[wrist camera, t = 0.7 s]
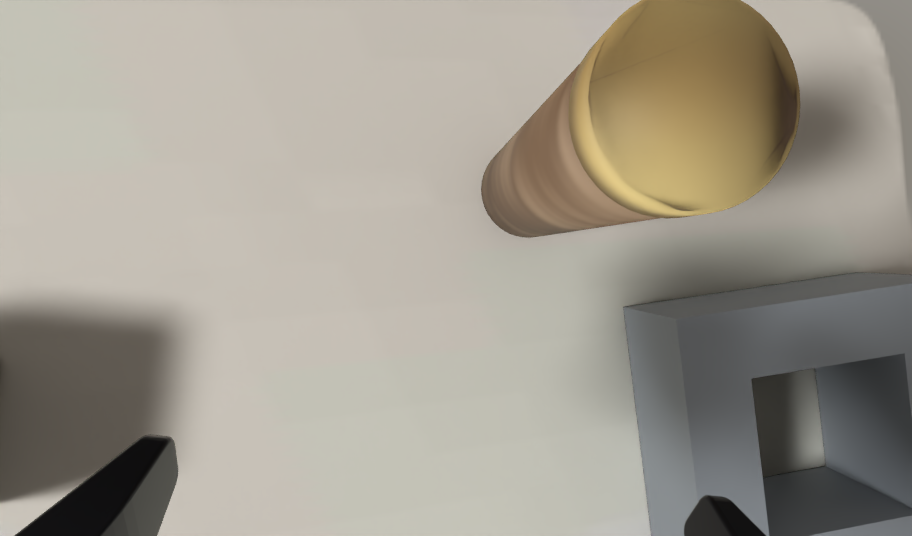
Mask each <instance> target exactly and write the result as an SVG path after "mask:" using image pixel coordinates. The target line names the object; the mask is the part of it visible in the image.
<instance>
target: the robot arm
mask: <svg viewBox="0 0 912 536" xmlns="http://www.w3.org/2000/svg"><path fill="white" fill-rule="evenodd" d="M177 477H178V464H177V457H176V450H175V443H174V440H173V439H172V438H171V437H168V436H158V435H146V436H143V437H141V438H140V439H138V440H137V441H136V442H134V443H133V444H132V445H131V446H129V447H128V448H127V449H125V450H124V451H123V452H122V453H120V454H119V455H118V456H116V457H115V458H114V459H113V460H111V461H110V462H109V463H107V464H106V465H105V466H104V467H102V468H101V469H100V470H98V471H97V472H96V473H95V474H93V475H92V476H91V477H89V478H88V479H87V480H86V481H84V482H83V483H82V484H80V485H79V486H78V487H76V488H75V489H74V490H73V491H71V492H70V493H69V494H67V495H66V496H65V497H64V498H62V499H61V500H60V501H58V502H57V503H56V504H55V505H53V506H52V507H51V508H49V509H48V510H47V511H46V512H44V513H43V514H42V515H40V516H39V517H38V518H37V519H35V520H34V521H33V522H31V523H30V524H29V525H28V526H26V527H25V528H24V529H22V530H21V531H20V532H18V533H17V534H16V535H15V536H157V534H158V532H159V529H160V526H161V523H162V521H163V518H164V515H165V512H166V510H167V507H168V504H169V502H170V499H171V496H172V493H173V491H174V488H175V485H176V482H177ZM684 536H766V535H765V534H764V533H763V532H762V531H761V530H760V529H759V528H758V527H757V526H756V525H755V524H754V523H753V522H752V521H751V520H750V519H749V518H748V517H747V516H746V515H745V514H744V513H743V512H742V511H741V510H740V509H739V508H738V507H737V506H736V505H735V504H734V503H733V502H732V501H731V500H730V499H728V498H726V497H721V496H712V495H705V496H703V497H702V498H701V499H700V500H699V501H698V503H697V504H696V506H695V507H694V509H693V510H692V512H691V513H690V515H689V516H688V518H687V519H686V521H685V525H684Z"/></svg>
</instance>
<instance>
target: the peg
mask: <svg viewBox="0 0 912 536" xmlns="http://www.w3.org/2000/svg"><path fill="white" fill-rule="evenodd" d="M799 112H800V93H799V85H798V79H797V74H796V71H795V68H794V64H793V61H792V59H791V57H790V54H789V52H788V50H787V48H786V46H785V44H784V43H783V41H782V39H781V37H780V36H779V34H778V33H777V32H776V31H775V29H774V28H773V27H772V25H771V24H770V23H769V22H768V21H767V20H766V19H765V18H764V17H763V16H762V15H761V14H760V13H758V12H757V11H756V10H754V9H753V8H752V7H751V6H749V5H748V4H746V3H744V2H742V1H741V0H641V1H639V2H638V3H636V4H635V5H633V6H632V7H630V8H629V9H628V10H627V11H625V12H624V13H623V14H622V15H621V16H620V17H619V18H618V19H617V20H616V21H615V22H614V23H613V24H612V25H611V26H610V28H609V29H608V30H607V31H606V32H605V33H604V34H603V35H602V36H601V37H600V39H599V40H598V41H597V42H596V43H595V44H594V45H593V47H592V48H591V49H590V50H589V51H588V53H587V54H586V56H585V57H584V59H583V61H582V62H581V63H580V64H579V65H578V66H577V67H576V68H575V70H574V71H573V72H572V73H571V74H570V75H569V76H568V77H567V78H566V79H565V80H564V82H563V83H562V84H561V85H560V86H559V87H558V88H557V89H556V90H555V91H554V92H553V94H552V95H551V96H550V97H549V98H548V99H547V100H546V101H545V102H544V103H543V104H542V105H541V107H540V108H539V109H538V110H537V111H536V112H535V113H534V114H533V115H532V116H531V117H530V119H529V120H528V121H527V122H526V123H525V124H524V125H523V126H522V127H521V128H520V129H519V131H518V132H517V133H516V134H515V135H514V136H513V137H512V138H511V139H510V140H509V141H508V143H507V144H506V145H505V146H504V147H503V148H502V149H501V150H500V151H499V152H498V153H497V154H496V156H495V157H494V158H493V159H492V160H491V161H490V163H489V164H488V166H487V168H486V170H485V173H484V176H483V180H482V187H481V192H482V200H483V204H484V207H485V209H486V211H487V213H488V215H489V216H490V218H491V219H492V220H493V222H494V223H495V224H496V225H497V226H499V227H500V228H501V229H503V230H504V231H506V232H508V233H510V234H512V235H515V236H519V237H538V236H545V235H551V234H558V233H565V232H571V231H578V230H584V229H591V228H598V227H604V226H611V225H617V224H624V223H631V222H637V221H644V220H650V219H657V218H680V217H687V216H694V215H701V214H708V213H713V212H718V211H723V210H725V209H728V208H731V207H734V206H736V205H738V204H740V203H742V202H744V201H746V200H748V199H749V198H751V197H752V196H753V195H755V194H756V193H758V192H759V191H760V190H761V189H762V188H763V187H764V186H766V185H767V184H768V183H769V182H770V181H771V179H772V178H773V177H774V176H775V175H776V173H777V172H778V171H779V169H780V168H781V166H782V165H783V163H784V161H785V160H786V158H787V156H788V154H789V152H790V149H791V147H792V144H793V141H794V138H795V135H796V132H797V127H798V122H799Z"/></svg>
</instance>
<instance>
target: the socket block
mask: <svg viewBox="0 0 912 536" xmlns="http://www.w3.org/2000/svg"><path fill="white" fill-rule="evenodd" d="M623 308H624V316H625V324H626V332H627V340H628V349H629V357H630V365H631V373H632V381H633V389H634V398H635V406H636V414H637V422H638V430H639V438H640V446H641V455H642V463H643V471H644V479H645V487H646V495H647V504H648V512H649V520H650V528H651V536H684V525H685V521H686V519H687V518H688V516H689V515H690V513H691V512H692V510H693V509H694V507H695V506H696V504H697V503H698V501H699V500H700V499H701V498H702V497H703V496H705V495H712V496H721V497H726V498H728V499H730V500H731V501H732V502H733V503H734V504H735V505H736V506H737V507H738V508H739V509H740V510H741V511H742V512H743V513H744V514H745V515H746V516H747V517H748V518H749V519H750V520H751V521H752V522H753V523H754V524H755V525H756V526H757V527H758V528H759V529H760V530H761V531H762V532H763V533H764V534H765V535H766V536H912V275H910V274H882V273H851V274H844V275H837V276H830V277H824V278H817V279H810V280H803V281H796V282H790V283H783V284H776V285H769V286H763V287H756V288H749V289H742V290H736V291H729V292H722V293H715V294H708V295H702V296H695V297H688V298H681V299H675V300H668V301H661V302H654V303H648V304H641V305H634V306H627V307H623ZM813 368H815V372H816V381H817V390H818V399H819V408H820V417H821V426H822V435H823V444H824V453H825V462H826V466H824V467H819V468H813V469H808V470H803V471H797V472H792V473H786V474H781V475H775V476H770V477H765V478H763V476H762V467H761V459H760V450H759V441H758V433H757V424H756V415H755V406H754V398H753V389H752V380H751V379H752V378H758V377H764V376H770V375H776V374H782V373H788V372H794V371H800V370H807V369H813Z"/></svg>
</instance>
